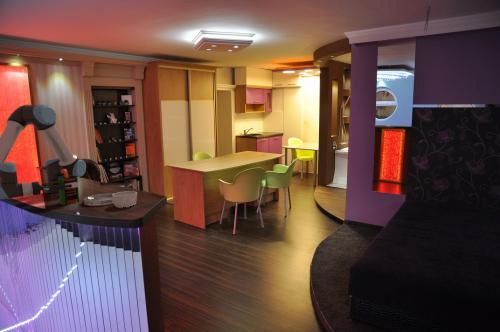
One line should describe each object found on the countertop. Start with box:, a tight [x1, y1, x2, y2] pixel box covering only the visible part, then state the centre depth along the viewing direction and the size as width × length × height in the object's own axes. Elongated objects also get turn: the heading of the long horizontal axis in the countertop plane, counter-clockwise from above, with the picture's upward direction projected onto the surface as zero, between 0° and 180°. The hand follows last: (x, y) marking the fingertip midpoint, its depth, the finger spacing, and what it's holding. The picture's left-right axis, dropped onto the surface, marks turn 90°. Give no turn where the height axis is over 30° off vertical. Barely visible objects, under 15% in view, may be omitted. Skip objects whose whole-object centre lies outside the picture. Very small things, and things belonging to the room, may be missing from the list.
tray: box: [82, 193, 114, 207], centre depth 203 cm, size 20×20×3 cm
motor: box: [58, 169, 80, 206], centre depth 201 cm, size 10×9×20 cm
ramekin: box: [112, 190, 138, 209], centre depth 193 cm, size 13×13×7 cm
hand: (76, 183), depth 203 cm, fingers open, 9 cm apart
